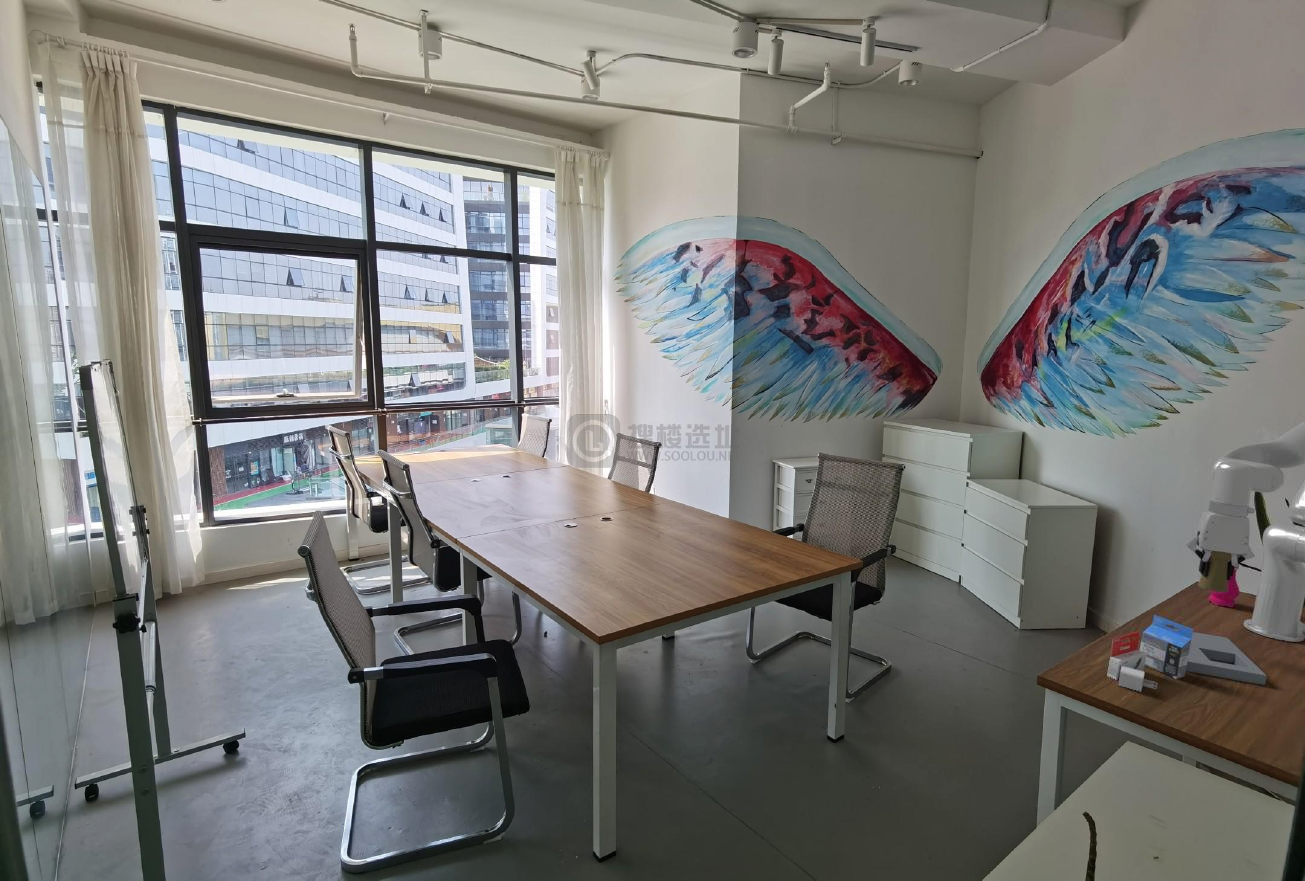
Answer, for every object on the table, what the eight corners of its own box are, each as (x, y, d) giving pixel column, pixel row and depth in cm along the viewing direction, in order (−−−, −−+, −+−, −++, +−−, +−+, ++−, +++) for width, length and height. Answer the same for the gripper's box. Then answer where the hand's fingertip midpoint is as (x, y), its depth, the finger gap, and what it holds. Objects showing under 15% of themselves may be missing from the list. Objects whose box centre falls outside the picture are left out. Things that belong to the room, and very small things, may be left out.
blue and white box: (1136, 662, 163) (1143, 616, 161) (1145, 660, 165) (1153, 614, 163) (1176, 679, 155) (1184, 631, 153) (1185, 677, 157) (1194, 629, 155)
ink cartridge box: (1143, 672, 158) (1150, 635, 157) (1116, 681, 154) (1123, 642, 152) (1132, 667, 161) (1138, 630, 159) (1105, 676, 156) (1111, 638, 154)
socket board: (1225, 646, 174) (1226, 637, 174) (1264, 685, 154) (1266, 675, 154) (1153, 634, 180) (1154, 625, 180) (1182, 670, 160) (1184, 660, 160)
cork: (1191, 583, 174) (1199, 544, 173) (1212, 584, 175) (1220, 545, 173) (1212, 592, 168) (1220, 551, 167) (1234, 592, 169) (1241, 552, 167)
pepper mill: (1242, 609, 200) (1254, 547, 197) (1215, 607, 202) (1226, 545, 199) (1227, 600, 207) (1238, 540, 204) (1201, 598, 209) (1211, 538, 206)
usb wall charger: (1119, 680, 154) (1122, 664, 154) (1156, 690, 150) (1158, 674, 149) (1118, 686, 151) (1120, 670, 151) (1155, 697, 147) (1157, 681, 146)
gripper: (1262, 511, 168) (1249, 578, 171) (1183, 502, 175) (1171, 566, 178) (1275, 518, 162) (1261, 587, 164) (1192, 507, 168) (1180, 575, 171)
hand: (1214, 576), depth 171 cm, fingers closed on cork, 4 cm apart
